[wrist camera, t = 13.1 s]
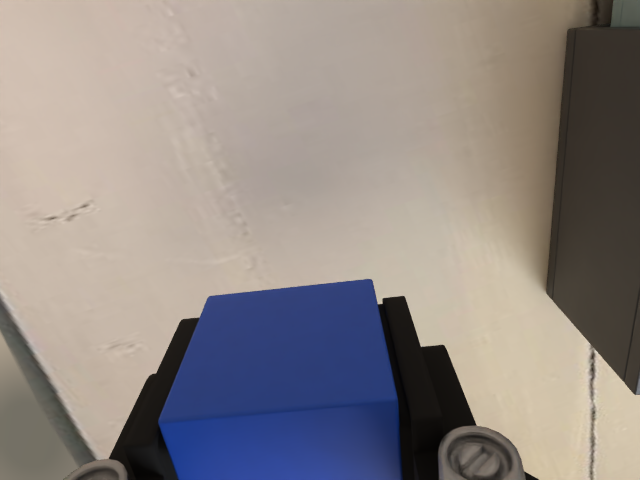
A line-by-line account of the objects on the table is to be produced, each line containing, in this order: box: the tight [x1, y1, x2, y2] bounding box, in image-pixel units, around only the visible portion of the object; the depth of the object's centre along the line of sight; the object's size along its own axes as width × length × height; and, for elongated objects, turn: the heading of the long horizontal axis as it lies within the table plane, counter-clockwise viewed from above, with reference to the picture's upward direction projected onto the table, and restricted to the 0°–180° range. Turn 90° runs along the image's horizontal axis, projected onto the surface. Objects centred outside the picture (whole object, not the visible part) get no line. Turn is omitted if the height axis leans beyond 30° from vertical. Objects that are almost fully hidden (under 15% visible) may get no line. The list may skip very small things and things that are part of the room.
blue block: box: [158, 279, 403, 480], centre depth 10 cm, size 4×4×4 cm
